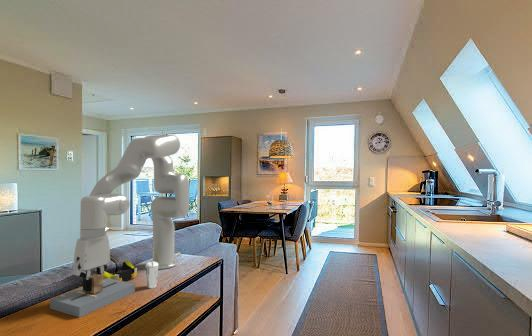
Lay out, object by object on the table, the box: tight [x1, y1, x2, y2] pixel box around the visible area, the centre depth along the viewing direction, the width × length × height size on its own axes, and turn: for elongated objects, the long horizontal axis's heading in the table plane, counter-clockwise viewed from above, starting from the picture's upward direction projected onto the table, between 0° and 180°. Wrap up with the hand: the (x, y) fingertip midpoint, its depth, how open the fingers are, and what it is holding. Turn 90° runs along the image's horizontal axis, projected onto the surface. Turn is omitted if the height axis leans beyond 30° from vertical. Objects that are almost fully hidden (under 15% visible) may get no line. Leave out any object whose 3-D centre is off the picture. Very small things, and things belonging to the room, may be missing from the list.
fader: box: [83, 272, 103, 294], centre depth 97 cm, size 3×6×5 cm, turn 66°
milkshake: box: [145, 260, 159, 289], centre depth 108 cm, size 5×5×10 cm
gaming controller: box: [103, 260, 138, 282], centre depth 116 cm, size 15×6×10 cm
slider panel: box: [49, 278, 136, 319], centre depth 97 cm, size 20×14×3 cm
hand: (92, 288), depth 96 cm, fingers closed on fader, 3 cm apart
